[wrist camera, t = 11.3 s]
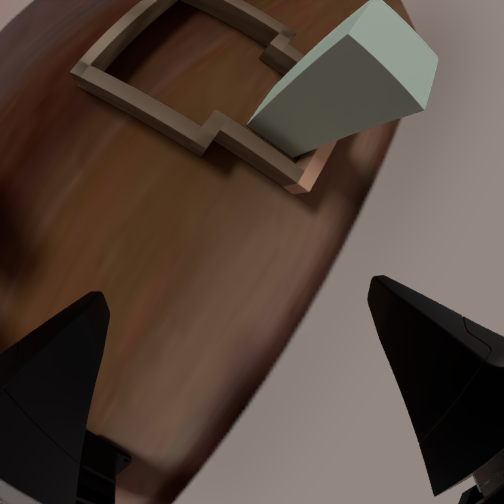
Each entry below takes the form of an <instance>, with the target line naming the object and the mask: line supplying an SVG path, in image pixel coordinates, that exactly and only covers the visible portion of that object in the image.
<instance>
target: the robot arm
mask: <svg viewBox="0 0 504 504" xmlns="http://www.w3.org/2000/svg"><path fill="white" fill-rule="evenodd" d="M367 300H368V305H369V308H370V311H371V314H372V317H373V320H374V324H375V327H376V330H377V333H378V336H379V339H380V341H381V344H382V347H383V349H384V351H385V354H386V356H387V359H388V361H389V363H390V366H391V368H392V371H393V373H394V375H395V378H396V381H397V383H398V386H399V389H400V391H401V394H402V397H403V399H404V402H405V405H406V407H407V410H408V413H409V416H410V418H411V422H412V425H413V427H414V430H415V433H416V436H417V439H418V442H419V443H420V444H419V446H420V449H421V453H422V455H423V459H424V462H425V466H426V469H427V473H428V476H429V480H430V483H431V487H432V491H433V494H434V496H437V495H439V494H441V493H443V492H445V491H447V490H449V489H451V488H452V487H454V486H456V485H458V484H460V483H461V482H463V481H465V480H466V479H468V478H470V477H471V476H473V478H474V480H475V483H476V485H475V486H473V487H472V488H470V489H468V490H467V491H465V492H463V493H462V496H461V498H460V501H459V503H458V504H504V337H503V336H501V335H499V334H497V333H495V332H493V331H491V330H489V329H487V328H485V327H483V326H481V325H479V324H477V323H475V322H473V321H471V320H469V319H467V318H466V317H462V315H460V314H458V313H456V312H455V311H453V310H451V309H449V308H447V307H445V306H443V305H441V304H439V303H437V302H436V301H434V300H432V299H430V298H428V297H426V296H424V295H422V294H420V293H418V292H416V291H414V290H412V289H410V288H408V287H407V286H405V285H403V284H401V283H399V282H397V281H395V280H392V279H390V278H389V277H387V276H384V275H380V276H374V277H373V278H372V280H371V283H370V288H369V292H368V299H367ZM109 319H110V311H109V308H108V306H107V303H106V300H105V297H104V295H103V293H102V292H100V291H92V292H89V293H88V294H86V295H85V296H83V297H82V298H80V299H79V300H77V301H76V302H74V303H73V304H71V305H70V306H68V307H67V308H65V309H64V310H62V311H61V312H59V313H58V314H56V315H55V316H54V317H52V318H51V319H49V320H48V321H46V322H45V323H43V324H42V325H41V326H39V327H38V328H36V329H35V330H33V331H32V332H31V333H29V334H28V335H26V336H25V337H24V338H22V339H21V340H20V342H19V341H18V342H17V343H15V344H14V345H13V346H11V347H10V348H8V349H7V350H6V351H4V352H3V353H1V354H0V504H115V490H116V475H117V474H119V473H120V472H121V471H122V470H123V469H124V468H125V467H127V466H128V465H129V464H130V463H131V456H129V455H128V454H126V453H124V452H122V451H120V450H118V449H116V448H114V447H113V446H111V445H109V444H107V443H106V442H104V441H102V440H100V439H99V438H97V437H95V436H94V435H92V434H90V433H89V432H87V431H86V430H85V429H86V424H87V419H88V414H89V409H90V405H91V400H92V396H93V392H94V387H95V383H96V379H97V375H98V372H99V368H100V364H101V360H102V356H103V352H104V346H105V341H106V335H107V330H108V325H109Z"/></svg>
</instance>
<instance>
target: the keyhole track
mask: <svg viewBox="0 0 504 504" xmlns="http://www.w3.org/2000/svg"><path fill="white" fill-rule="evenodd" d="M177 1H178V0H142V1H140V2H139V3H138V4H137V5H136V6H134V7H133V8H132V9H131V10H130V11H129V12H127V13H126V14H125V15H124V16H123V17H122V18H121V19H120V20H118V21H117V22H116V23H115V24H114V25H113V26H112V27H111V28H110V29H109V30H108V31H107V32H106V33H105V34H104V35H103V36H102V37H101V38H100V39H99V40H98V41H97V42H96V43H95V44H94V45H93V46H92V47H91V48H90V49H89V50H88V51H87V53H86V54H85V55H84V56H83V57H82V58H81V59H80V60H79V62H78V63H77V64H76V65H75V66H74V67H73V69H72V70H71V71H70V73H71V75H72V76H73V78H74V80H75V82H76V83H77V85H78V87H80V88H82V89H84V90H86V91H88V92H90V93H91V94H93V95H95V96H97V97H99V98H101V99H103V100H104V101H106V102H108V103H110V104H112V105H113V106H115V107H117V108H119V109H121V110H122V111H124V112H126V113H128V114H129V115H131V116H133V117H135V118H136V119H138V120H140V121H142V122H143V123H145V124H147V125H148V126H150V127H152V128H154V129H155V130H157V131H159V132H160V133H162V134H164V135H165V136H167V137H169V138H170V139H172V140H174V141H175V142H177V143H179V144H180V145H182V146H183V147H185V148H187V149H188V150H190V151H192V152H193V153H195V154H196V155H198V156H200V157H201V156H202V155H203V153H204V152H205V151H206V149H207V148H208V146H209V145H210V143H211V142H212V140H214V141H215V142H217V143H218V144H220V145H221V146H223V147H225V148H226V149H228V150H229V151H231V152H232V153H234V154H235V155H237V156H238V157H240V158H241V159H243V160H244V161H246V162H247V163H249V164H250V165H252V166H253V167H255V168H256V169H258V170H259V171H260V172H262V173H263V174H265V175H266V176H268V177H269V178H271V179H272V180H273V181H275V182H276V183H278V184H279V185H280V186H282V187H283V188H285V189H286V190H287V191H289V192H290V193H292V194H300V193H306V192H310V190H311V188H312V186H313V185H314V183H315V181H316V179H317V177H318V176H319V174H320V172H321V170H322V168H323V167H324V165H325V163H326V161H327V159H328V157H329V156H330V154H331V152H332V150H333V148H334V146H335V145H336V143H337V141H338V140H336V141H334V142H331V143H329V144H326V145H323V146H321V147H318V148H316V149H313V150H311V151H308V152H306V153H303V154H302V155H301V156H300V158H299V160H298V161H297V163H296V164H295V163H293V162H292V161H291V160H289V159H288V158H287V157H285V156H284V155H283V154H281V153H280V152H278V151H277V150H276V149H274V148H273V147H271V146H270V145H269V144H267V143H266V142H264V141H263V140H262V139H260V138H259V137H257V136H256V135H254V134H253V133H251V132H250V131H248V130H247V129H245V128H244V127H243V126H241V125H239V124H238V123H236V122H235V121H233V120H232V119H230V118H229V117H227V116H226V115H224V114H223V113H221V112H219V111H218V110H216V109H215V110H214V111H213V113H212V114H211V115H210V117H209V118H208V119H207V121H206V122H205V123H204V125H203V126H202V127H201V126H199V125H197V124H196V123H194V122H193V121H191V120H189V119H188V118H186V117H184V116H183V115H181V114H179V113H178V112H176V111H174V110H173V109H171V108H169V107H167V106H166V105H164V104H162V103H160V102H159V101H157V100H155V99H153V98H152V97H150V96H148V95H146V94H145V93H143V92H141V91H139V90H137V89H135V88H134V87H132V86H130V85H128V84H126V83H124V82H122V81H120V80H118V79H117V78H115V77H113V76H111V75H109V74H107V73H105V72H104V71H105V70H106V69H107V68H108V66H109V65H110V64H111V63H112V62H113V61H114V60H115V59H116V58H117V56H118V55H119V54H120V53H121V52H122V51H123V50H124V49H125V48H126V47H127V46H128V45H129V44H130V43H131V42H132V41H133V40H134V39H135V38H136V37H137V36H138V35H139V34H140V33H141V32H142V31H143V30H144V29H145V28H146V27H147V26H149V25H150V24H151V23H152V22H153V21H154V20H155V19H156V18H157V17H159V16H160V15H161V14H162V13H163V12H164V11H166V10H167V9H168V8H169V7H170V6H172V5H173V4H174V3H175V2H177ZM181 1H183V2H185V3H187V4H189V5H192V6H194V7H196V8H198V9H200V10H202V11H204V12H206V13H208V14H210V15H212V16H214V17H216V18H218V19H220V20H221V21H223V22H225V23H227V24H229V25H230V26H232V27H234V28H236V29H238V30H239V31H241V32H243V33H244V34H246V35H248V36H249V37H251V38H253V39H254V40H256V41H257V42H259V43H261V44H262V45H264V46H265V47H267V48H266V49H265V51H264V52H263V53H262V55H261V56H260V58H259V59H260V60H262V61H263V62H265V63H266V64H268V65H269V66H271V67H272V68H273V69H275V70H276V71H278V72H279V73H281V74H282V75H284V76H285V75H286V74H287V73H288V72H289V71H290V70H291V69H292V68H293V67H294V66H295V65H296V64H297V63H298V62H299V61H300V60H301V59H302V58H303V57H304V55H303V54H301V53H300V52H299V51H297V50H296V49H294V48H293V47H292V46H290V45H289V44H288V43H289V42H290V41H291V39H292V38H293V37H294V36H295V35H296V33H294V32H293V31H291V30H290V29H288V28H287V27H285V26H284V25H282V24H281V23H279V22H278V21H276V20H275V19H273V18H271V17H270V16H268V15H267V14H265V13H263V12H262V11H260V10H258V9H256V8H255V7H253V6H251V5H249V4H248V3H246V2H244V1H242V0H181Z"/></svg>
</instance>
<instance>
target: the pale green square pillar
mask: <svg viewBox="0 0 504 504" xmlns="http://www.w3.org/2000/svg"><path fill="white" fill-rule="evenodd" d="M437 63H438V57H437V56H436V55H435V53H434V52H433V51H432V50H431V49H430V48H429V46H428V45H427V44H426V43H425V42H424V41H423V40H422V39H421V38H420V36H419V35H418V34H417V33H416V32H415V31H414V30H413V29H412V28H411V27H410V26H409V25H408V24H407V23H406V22H405V21H404V20H403V19H402V18H401V17H400V16H399V15H398V14H397V13H396V12H395V11H394V10H392V9H391V8H390V7H389V6H388V5H387V4H386V3H385V2H384V1H382V0H369V1H368V2H367V3H365V4H364V5H363V6H362V7H360V8H359V9H358V10H357V11H355V12H354V13H353V14H352V15H351V16H349V17H348V18H347V19H346V20H345V21H343V22H342V23H341V24H340V25H339V26H338V27H336V28H335V29H334V30H333V31H332V32H331V33H330V34H328V35H327V36H326V37H325V38H324V39H323V40H322V41H321V42H319V43H318V44H317V45H316V46H315V47H314V48H313V49H312V50H311V51H310V52H309V53H308V54H306V55H305V56H304V57H303V58H302V59H301V60H300V61H299V62H298V63H297V64H296V65H295V66H294V67H293V68H292V69H291V70H290V71H289V72H288V73H287V74H286V75H285V76H284V77H283V78H282V79H281V80H280V81H279V82H278V83H277V84H276V85H275V86H274V87H273V88H272V90H271V91H270V92H269V94H268V95H267V97H266V98H265V99H264V101H263V102H262V103H261V105H260V106H259V108H258V109H257V110H256V112H255V113H254V115H253V116H252V117H251V119H250V120H249V122H248V123H247V125H246V126H248V127H249V128H251V129H252V130H254V131H255V132H257V133H258V134H260V135H261V136H262V137H264V138H265V139H267V140H268V141H270V142H271V143H272V144H274V145H275V146H277V147H278V148H279V149H281V150H282V151H284V152H285V153H286V154H288V155H289V156H290V157H292V158H294V157H296V156H299V155H301V154H303V153H306V152H308V151H311V150H313V149H316V148H318V147H321V146H323V145H326V144H329V143H331V142H334V141H336V140H339V139H342V138H344V137H347V136H350V135H353V134H355V133H358V132H361V131H364V130H366V129H369V128H372V127H375V126H378V125H381V124H384V123H387V122H390V121H393V120H396V119H399V118H402V117H405V116H408V115H411V114H414V113H418V112H421V111H424V110H425V107H426V104H427V100H428V97H429V94H430V90H431V86H432V83H433V79H434V75H435V71H436V67H437Z"/></svg>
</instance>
